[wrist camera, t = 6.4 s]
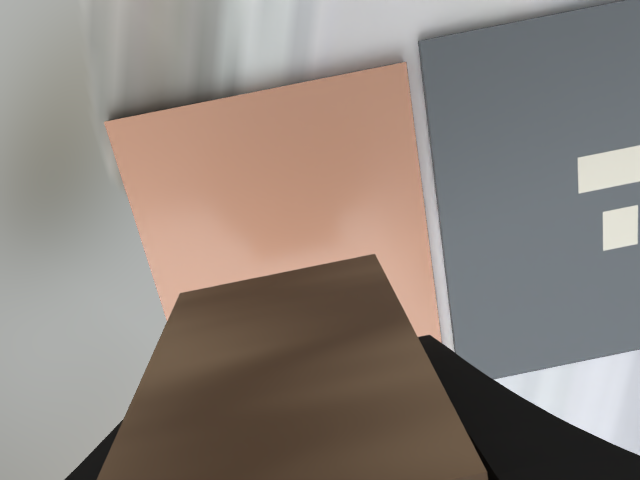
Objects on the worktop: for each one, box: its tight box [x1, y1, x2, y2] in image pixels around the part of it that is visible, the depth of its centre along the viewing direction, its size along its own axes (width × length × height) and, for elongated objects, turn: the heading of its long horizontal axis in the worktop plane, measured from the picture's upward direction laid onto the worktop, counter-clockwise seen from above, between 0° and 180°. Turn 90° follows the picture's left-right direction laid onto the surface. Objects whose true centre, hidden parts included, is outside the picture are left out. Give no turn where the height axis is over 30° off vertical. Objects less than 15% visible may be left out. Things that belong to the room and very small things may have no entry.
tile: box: [104, 62, 442, 343], centre depth 17 cm, size 9×11×1 cm
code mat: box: [418, 0, 640, 379], centre depth 17 cm, size 12×12×1 cm
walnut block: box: [97, 254, 488, 480], centre depth 8 cm, size 4×4×6 cm
